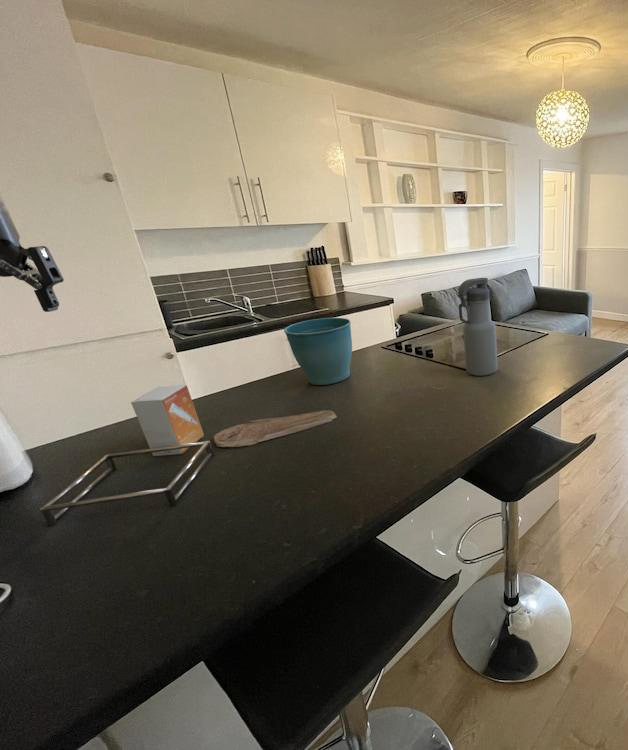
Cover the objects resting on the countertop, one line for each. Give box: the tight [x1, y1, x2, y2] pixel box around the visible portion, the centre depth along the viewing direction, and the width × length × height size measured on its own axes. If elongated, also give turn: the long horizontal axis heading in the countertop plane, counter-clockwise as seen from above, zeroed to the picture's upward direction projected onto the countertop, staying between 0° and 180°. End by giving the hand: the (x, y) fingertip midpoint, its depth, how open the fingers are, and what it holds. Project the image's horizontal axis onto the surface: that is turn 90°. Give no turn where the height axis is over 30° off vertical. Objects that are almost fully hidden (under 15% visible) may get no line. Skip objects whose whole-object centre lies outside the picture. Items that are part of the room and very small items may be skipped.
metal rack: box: [39, 440, 215, 527], centre depth 77 cm, size 19×17×4 cm
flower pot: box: [283, 317, 353, 386], centre depth 122 cm, size 18×18×17 cm
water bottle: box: [457, 277, 499, 377], centre depth 121 cm, size 10×10×28 cm
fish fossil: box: [213, 409, 338, 448], centre depth 97 cm, size 26×10×1 cm, turn 123°
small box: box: [130, 384, 205, 457], centre depth 89 cm, size 8×6×13 cm
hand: (21, 313), depth 69 cm, fingers open, 8 cm apart
